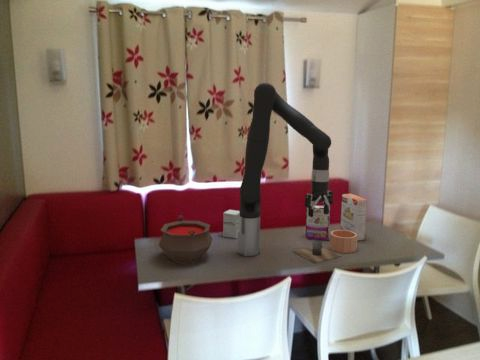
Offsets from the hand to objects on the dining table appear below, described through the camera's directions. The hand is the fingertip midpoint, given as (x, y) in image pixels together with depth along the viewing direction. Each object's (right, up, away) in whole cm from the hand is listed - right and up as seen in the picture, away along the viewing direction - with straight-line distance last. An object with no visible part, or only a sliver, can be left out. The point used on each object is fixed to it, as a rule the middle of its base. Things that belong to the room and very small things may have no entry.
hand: (318, 215), depth 184 cm
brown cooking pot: (-58, -19, -1) cm, 61 cm away
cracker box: (+22, -13, +28) cm, 38 cm away
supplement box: (-38, -13, +28) cm, 49 cm away
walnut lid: (0, -18, +3) cm, 19 cm away
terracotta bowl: (+14, -16, +11) cm, 24 cm away
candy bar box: (+4, -14, +25) cm, 29 cm away
